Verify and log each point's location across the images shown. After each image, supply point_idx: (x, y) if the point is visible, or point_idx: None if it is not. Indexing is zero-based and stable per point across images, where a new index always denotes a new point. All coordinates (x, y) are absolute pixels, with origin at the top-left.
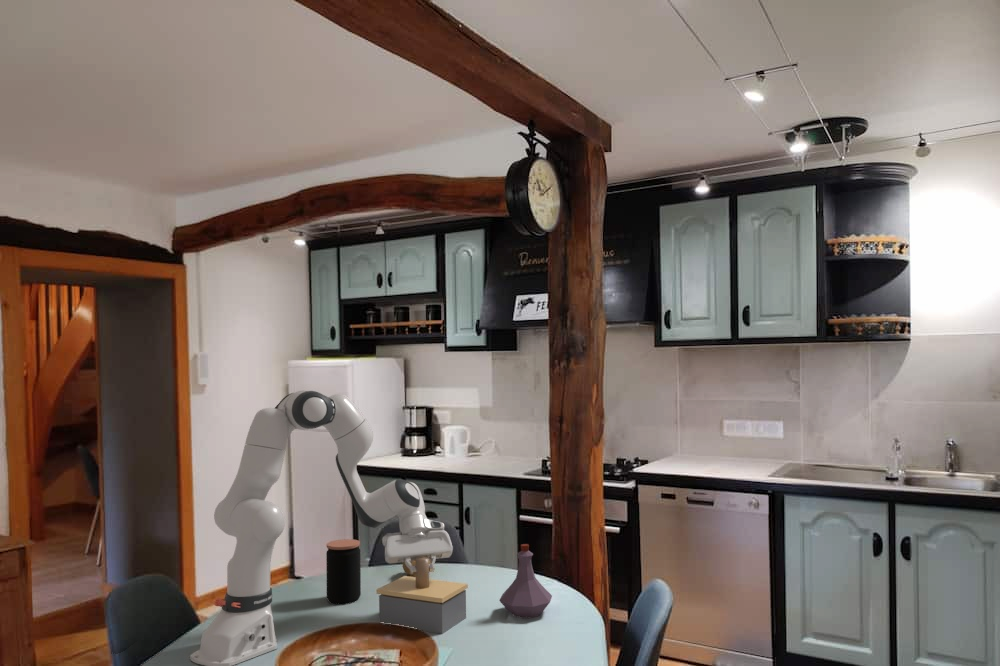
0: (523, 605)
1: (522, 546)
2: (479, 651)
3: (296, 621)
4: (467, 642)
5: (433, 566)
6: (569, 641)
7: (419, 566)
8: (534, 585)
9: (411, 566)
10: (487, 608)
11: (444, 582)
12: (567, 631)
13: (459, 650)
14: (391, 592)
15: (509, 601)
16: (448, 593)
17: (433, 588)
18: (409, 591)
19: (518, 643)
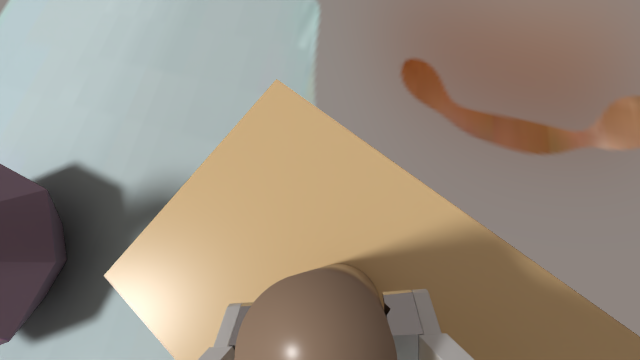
0: (14, 175)
1: None
2: (241, 13)
3: None
4: (253, 71)
5: (228, 317)
6: (41, 32)
7: (357, 279)
8: None
9: (433, 326)
10: (107, 345)
11: (204, 347)
12: (12, 88)
13: (285, 26)
14: (532, 263)
15: (34, 211)
16: (233, 143)
17: (285, 246)
18: (423, 230)
19: (142, 42)
